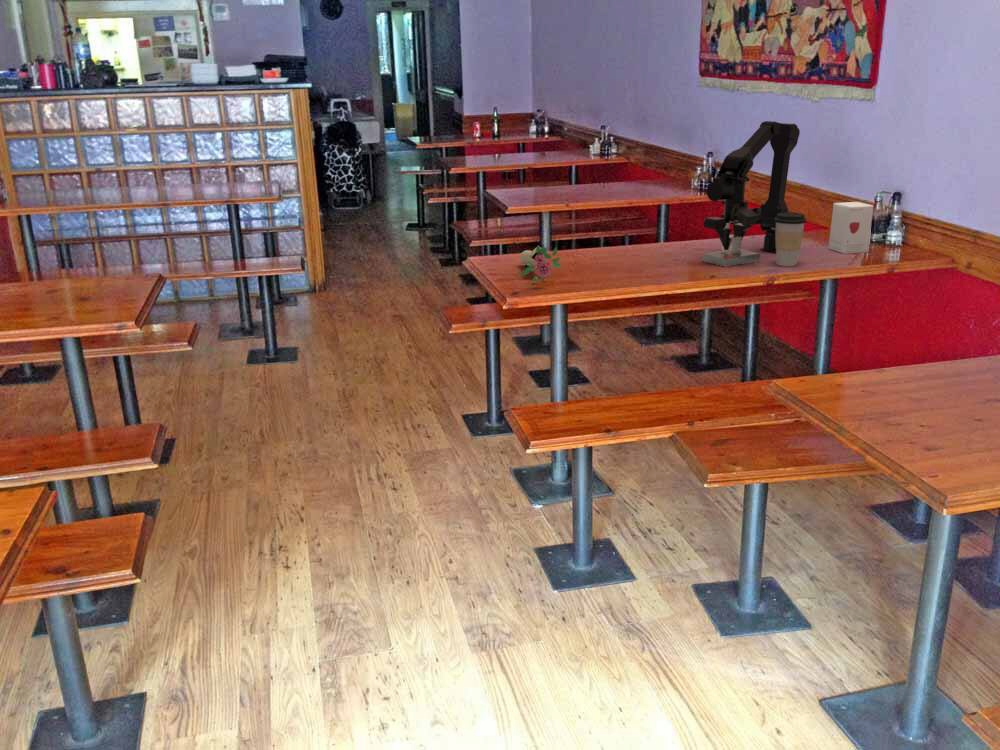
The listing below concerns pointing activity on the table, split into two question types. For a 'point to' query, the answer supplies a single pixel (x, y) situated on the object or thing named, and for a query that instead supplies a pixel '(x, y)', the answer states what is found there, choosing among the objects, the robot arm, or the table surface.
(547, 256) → the flower vase
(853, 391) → the table surface
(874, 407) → the table surface
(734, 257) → the sleeve block
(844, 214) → the supplement box
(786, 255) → the coffee cup
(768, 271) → the table surface
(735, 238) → the post
